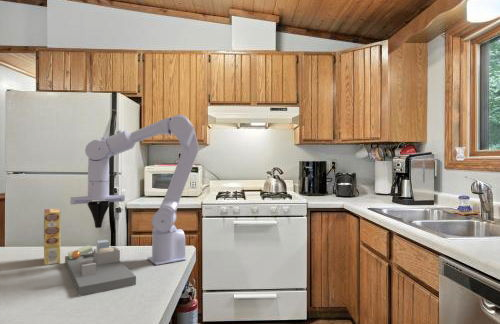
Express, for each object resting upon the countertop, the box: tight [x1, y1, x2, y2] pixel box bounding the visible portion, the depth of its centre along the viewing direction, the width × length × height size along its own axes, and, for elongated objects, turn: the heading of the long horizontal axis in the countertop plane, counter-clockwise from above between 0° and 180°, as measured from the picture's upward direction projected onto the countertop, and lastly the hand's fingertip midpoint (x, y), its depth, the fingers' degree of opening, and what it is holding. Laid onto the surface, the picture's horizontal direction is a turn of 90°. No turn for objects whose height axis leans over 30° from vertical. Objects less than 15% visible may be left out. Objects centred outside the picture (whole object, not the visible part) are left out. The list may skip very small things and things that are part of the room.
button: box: [99, 248, 114, 253], centre depth 89 cm, size 4×4×3 cm
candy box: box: [43, 208, 62, 266], centre depth 96 cm, size 9×4×15 cm, turn 33°
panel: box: [64, 246, 137, 297], centre depth 85 cm, size 12×30×5 cm, turn 35°
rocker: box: [67, 244, 94, 259], centre depth 93 cm, size 6×4×1 cm
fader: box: [96, 239, 110, 249], centre depth 96 cm, size 3×4×4 cm
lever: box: [72, 250, 87, 265], centre depth 79 cm, size 2×3×6 cm
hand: (98, 227), depth 95 cm, fingers closed
